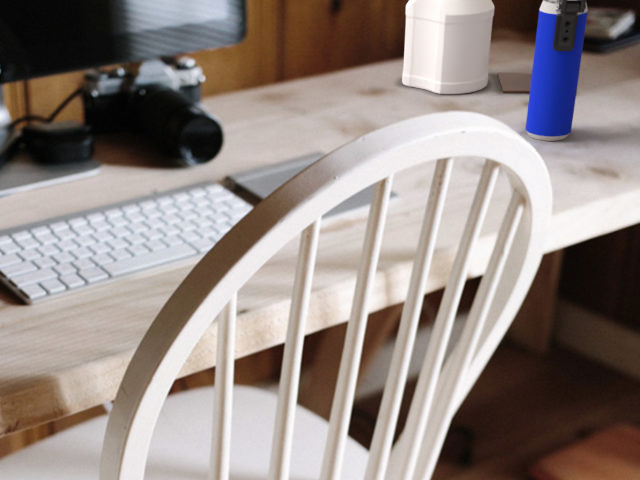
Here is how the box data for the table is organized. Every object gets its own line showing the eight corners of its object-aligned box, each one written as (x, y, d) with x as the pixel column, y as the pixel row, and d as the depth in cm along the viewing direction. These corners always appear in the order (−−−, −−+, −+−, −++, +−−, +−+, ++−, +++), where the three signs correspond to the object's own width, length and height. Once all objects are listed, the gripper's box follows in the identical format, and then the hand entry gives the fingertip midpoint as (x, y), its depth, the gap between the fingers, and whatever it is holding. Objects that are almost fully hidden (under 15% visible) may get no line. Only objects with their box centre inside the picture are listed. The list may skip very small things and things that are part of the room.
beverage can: (564, 128, 122) (582, -5, 114) (575, 141, 118) (594, 4, 110) (520, 128, 122) (535, -4, 115) (529, 142, 118) (546, 5, 110)
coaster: (563, 75, 142) (563, 73, 142) (572, 93, 135) (573, 91, 135) (497, 75, 143) (497, 73, 143) (503, 92, 136) (503, 90, 135)
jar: (389, 82, 141) (394, -34, 134) (434, 69, 147) (442, -43, 139) (454, 98, 134) (464, -24, 126) (500, 84, 139) (512, -34, 131)
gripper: (535, -130, 112) (518, 30, 121) (552, -117, 100) (532, 60, 109) (606, -131, 112) (583, 30, 120) (632, -118, 99) (604, 60, 108)
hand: (559, 43), depth 115 cm, fingers closed on beverage can, 5 cm apart
